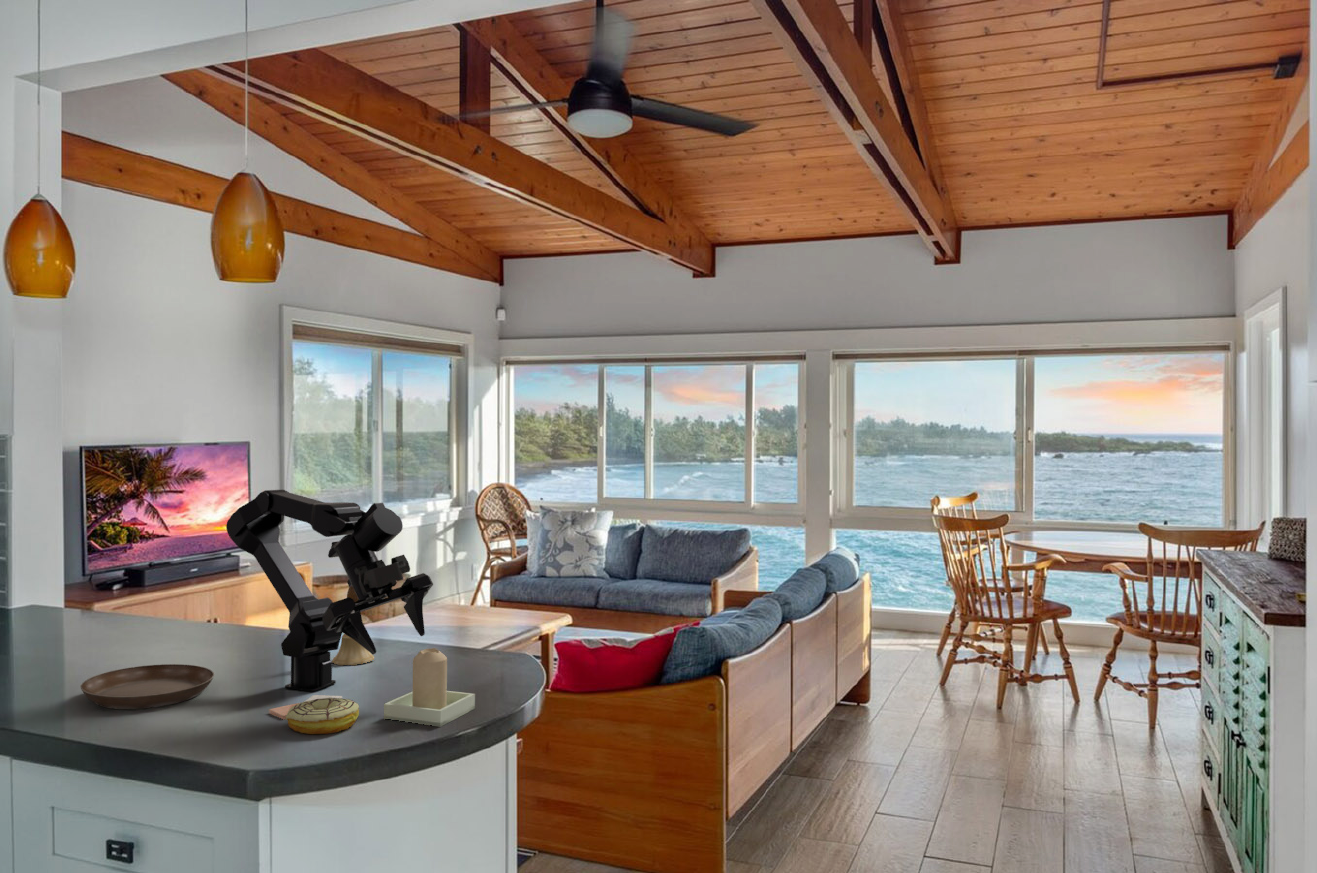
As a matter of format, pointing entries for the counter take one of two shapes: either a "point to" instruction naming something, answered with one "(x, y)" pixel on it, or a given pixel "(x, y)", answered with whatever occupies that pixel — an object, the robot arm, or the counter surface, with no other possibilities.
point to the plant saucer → (147, 685)
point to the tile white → (322, 697)
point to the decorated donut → (323, 715)
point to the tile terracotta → (281, 711)
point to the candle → (430, 679)
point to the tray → (408, 713)
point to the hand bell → (351, 646)
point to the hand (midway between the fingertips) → (399, 644)
